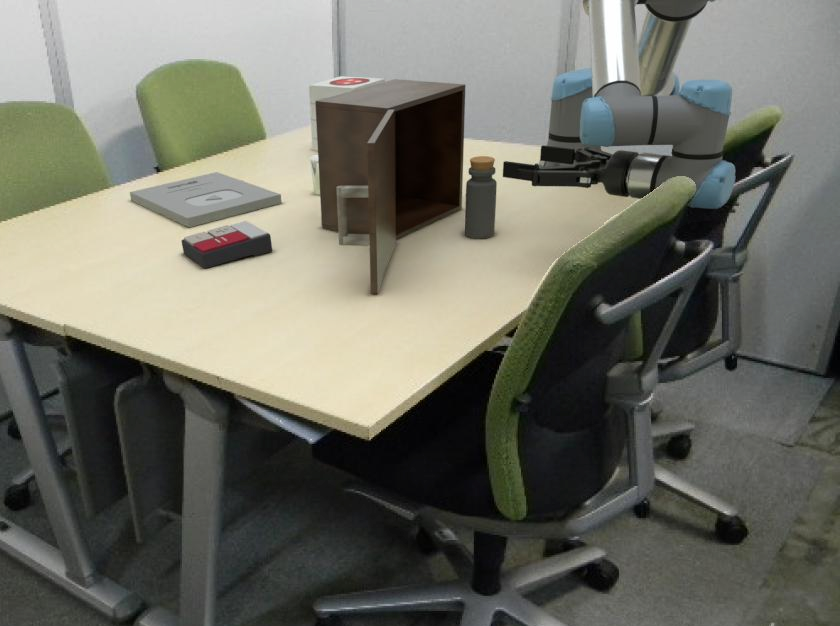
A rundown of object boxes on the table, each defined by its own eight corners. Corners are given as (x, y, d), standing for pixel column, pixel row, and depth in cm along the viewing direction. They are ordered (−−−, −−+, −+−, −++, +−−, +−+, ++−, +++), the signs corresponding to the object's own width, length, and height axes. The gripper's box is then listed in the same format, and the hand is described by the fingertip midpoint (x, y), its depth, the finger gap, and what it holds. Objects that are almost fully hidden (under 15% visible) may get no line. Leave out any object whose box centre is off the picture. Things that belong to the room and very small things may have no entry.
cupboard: (461, 209, 186) (465, 84, 173) (389, 243, 170) (387, 108, 157) (395, 197, 197) (394, 79, 184) (321, 228, 181) (315, 100, 168)
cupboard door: (337, 292, 149) (331, 143, 136) (361, 243, 171) (357, 110, 158) (377, 293, 148) (374, 142, 135) (395, 243, 170) (394, 109, 157)
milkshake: (331, 189, 207) (329, 147, 202) (329, 195, 202) (327, 152, 197) (312, 189, 207) (310, 148, 202) (310, 196, 203) (308, 153, 198)
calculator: (179, 236, 171) (246, 217, 176) (183, 256, 173) (249, 237, 179) (201, 250, 162) (270, 230, 168) (204, 272, 165) (273, 251, 170)
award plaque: (217, 180, 221) (216, 171, 220) (281, 203, 199) (280, 194, 198) (131, 200, 209) (129, 191, 208) (188, 227, 187) (187, 218, 186)
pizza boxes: (362, 168, 222) (360, 96, 213) (302, 149, 244) (298, 83, 235) (421, 155, 230) (421, 85, 221) (358, 137, 252) (356, 73, 244)
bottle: (476, 240, 168) (479, 164, 161) (458, 233, 173) (460, 158, 165) (500, 234, 170) (504, 159, 163) (482, 227, 175) (485, 153, 168)
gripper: (598, 215, 140) (486, 197, 153) (661, 179, 155) (554, 166, 168) (604, 169, 136) (488, 154, 149) (667, 137, 151) (557, 126, 164)
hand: (523, 160), depth 158 cm, fingers open, 13 cm apart
